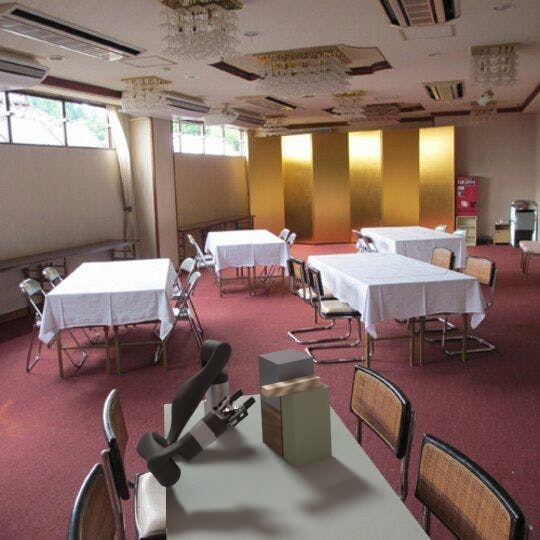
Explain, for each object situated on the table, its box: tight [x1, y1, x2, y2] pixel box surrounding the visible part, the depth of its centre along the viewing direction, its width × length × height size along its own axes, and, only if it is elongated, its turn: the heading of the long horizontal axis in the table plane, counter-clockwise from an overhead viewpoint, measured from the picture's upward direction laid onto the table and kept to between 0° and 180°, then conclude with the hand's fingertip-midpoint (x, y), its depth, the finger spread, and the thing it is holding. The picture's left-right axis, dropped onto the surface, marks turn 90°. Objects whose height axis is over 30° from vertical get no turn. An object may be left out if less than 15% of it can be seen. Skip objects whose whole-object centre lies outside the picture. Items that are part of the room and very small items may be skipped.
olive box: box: [281, 382, 333, 467], centre depth 190 cm, size 14×8×24 cm, turn 119°
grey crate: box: [257, 348, 315, 411], centre depth 199 cm, size 14×14×16 cm
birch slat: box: [261, 374, 322, 399], centre depth 186 cm, size 20×4×3 cm, turn 119°
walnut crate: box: [260, 399, 284, 457], centre depth 201 cm, size 14×14×16 cm
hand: (247, 394), depth 178 cm, fingers open, 8 cm apart
